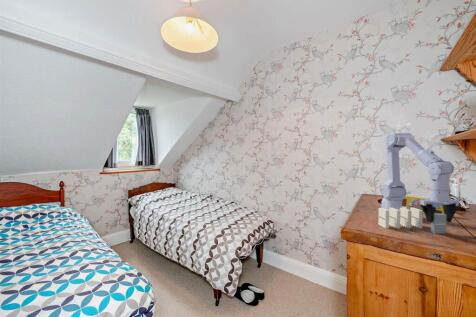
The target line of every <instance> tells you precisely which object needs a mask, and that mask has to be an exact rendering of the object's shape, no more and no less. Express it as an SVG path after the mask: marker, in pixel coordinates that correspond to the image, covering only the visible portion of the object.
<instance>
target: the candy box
mask: <svg viewBox="0 0 476 317" xmlns="http://www.w3.org/2000/svg"><path fill="white" fill-rule="evenodd" d="M426 199H429V198H427V197H420V196H412V195H406V206H405V207H406V209H408V210H410V208H417V209H420V210H423V209H422V207H421V206H420V200H426ZM432 206H433V207H436V210H435V212H434V214H444V209H443V206H442V205H432ZM423 212H424V211H423Z"/></svg>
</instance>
